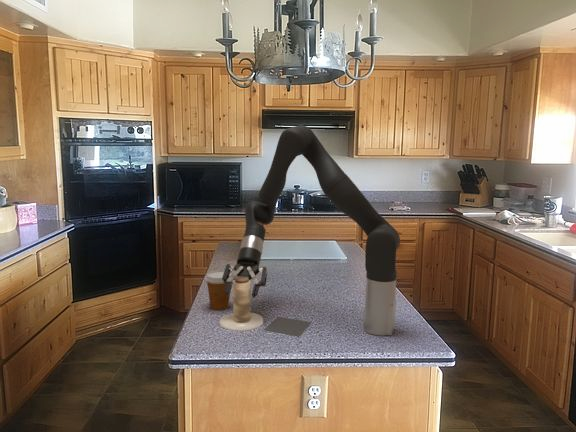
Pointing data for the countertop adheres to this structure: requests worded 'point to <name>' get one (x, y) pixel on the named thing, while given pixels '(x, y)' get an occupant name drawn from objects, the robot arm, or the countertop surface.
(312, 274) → the countertop surface
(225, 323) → the plate
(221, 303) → the disposable coffee cup
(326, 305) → the countertop surface
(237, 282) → the pepper mill
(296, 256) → the countertop surface
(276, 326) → the mat
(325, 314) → the countertop surface
